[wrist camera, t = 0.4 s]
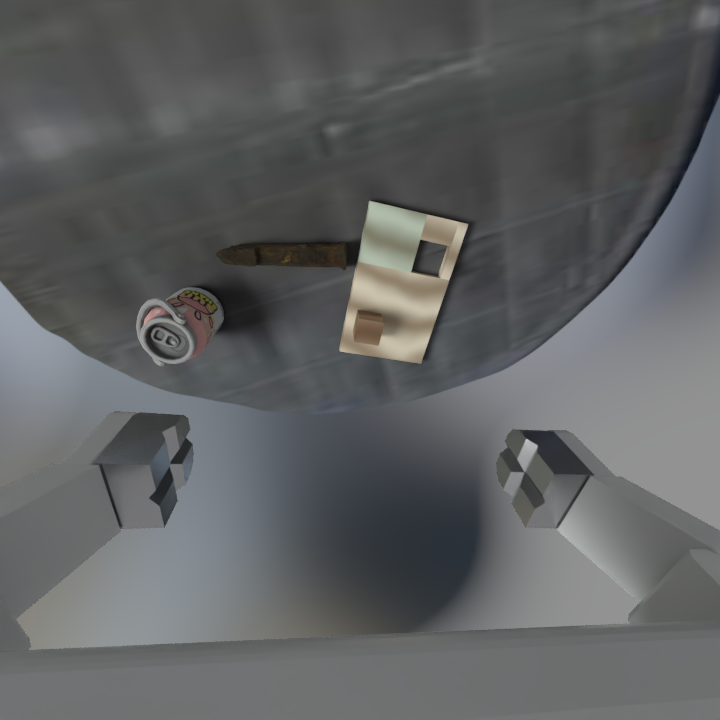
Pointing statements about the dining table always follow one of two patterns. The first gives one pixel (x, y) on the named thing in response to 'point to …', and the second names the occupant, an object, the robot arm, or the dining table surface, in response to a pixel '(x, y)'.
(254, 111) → the dining table surface
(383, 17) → the dining table surface
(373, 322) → the walnut cube
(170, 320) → the beverage can
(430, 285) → the birch board
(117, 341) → the dining table surface
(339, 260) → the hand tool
